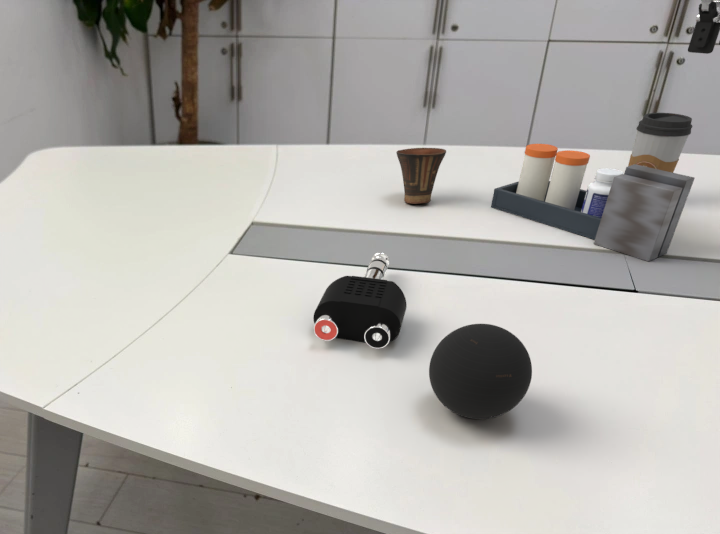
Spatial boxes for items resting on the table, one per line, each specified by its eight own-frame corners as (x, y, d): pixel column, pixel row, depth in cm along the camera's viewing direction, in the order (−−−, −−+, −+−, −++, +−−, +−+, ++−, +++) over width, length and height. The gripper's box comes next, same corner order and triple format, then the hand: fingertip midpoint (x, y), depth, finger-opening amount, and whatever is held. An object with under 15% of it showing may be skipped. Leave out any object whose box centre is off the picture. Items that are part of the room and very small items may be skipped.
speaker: (452, 374, 79) (468, 298, 74) (536, 409, 73) (560, 329, 67) (404, 410, 74) (417, 330, 68) (490, 451, 67) (512, 367, 62)
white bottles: (579, 212, 120) (596, 154, 115) (562, 219, 118) (578, 160, 112) (524, 197, 128) (537, 142, 123) (507, 202, 126) (519, 146, 120)
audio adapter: (309, 307, 83) (347, 235, 102) (307, 345, 86) (344, 268, 105) (400, 320, 79) (422, 243, 99) (394, 359, 82) (416, 276, 102)
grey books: (666, 253, 106) (695, 177, 99) (648, 261, 104) (676, 184, 97) (611, 236, 112) (634, 164, 105) (593, 244, 110) (615, 170, 103)
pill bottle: (619, 226, 114) (636, 174, 110) (592, 230, 113) (608, 177, 109) (596, 216, 119) (612, 165, 114) (571, 219, 118) (585, 168, 113)
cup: (413, 190, 135) (420, 139, 129) (448, 202, 129) (457, 148, 123) (380, 199, 131) (386, 146, 126) (415, 211, 125) (422, 156, 119)
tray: (640, 226, 116) (646, 206, 114) (601, 242, 110) (607, 221, 108) (529, 194, 131) (533, 176, 129) (490, 207, 126) (494, 188, 124)
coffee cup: (607, 201, 126) (632, 118, 118) (624, 191, 131) (650, 109, 122) (655, 212, 121) (686, 125, 113) (672, 200, 125) (702, 116, 117)
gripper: (765, -91, 85) (715, 57, 95) (820, -93, 93) (769, 45, 102) (701, -87, 91) (659, 53, 100) (758, -89, 98) (715, 41, 108)
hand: (715, 49), depth 101 cm, fingers open, 9 cm apart
